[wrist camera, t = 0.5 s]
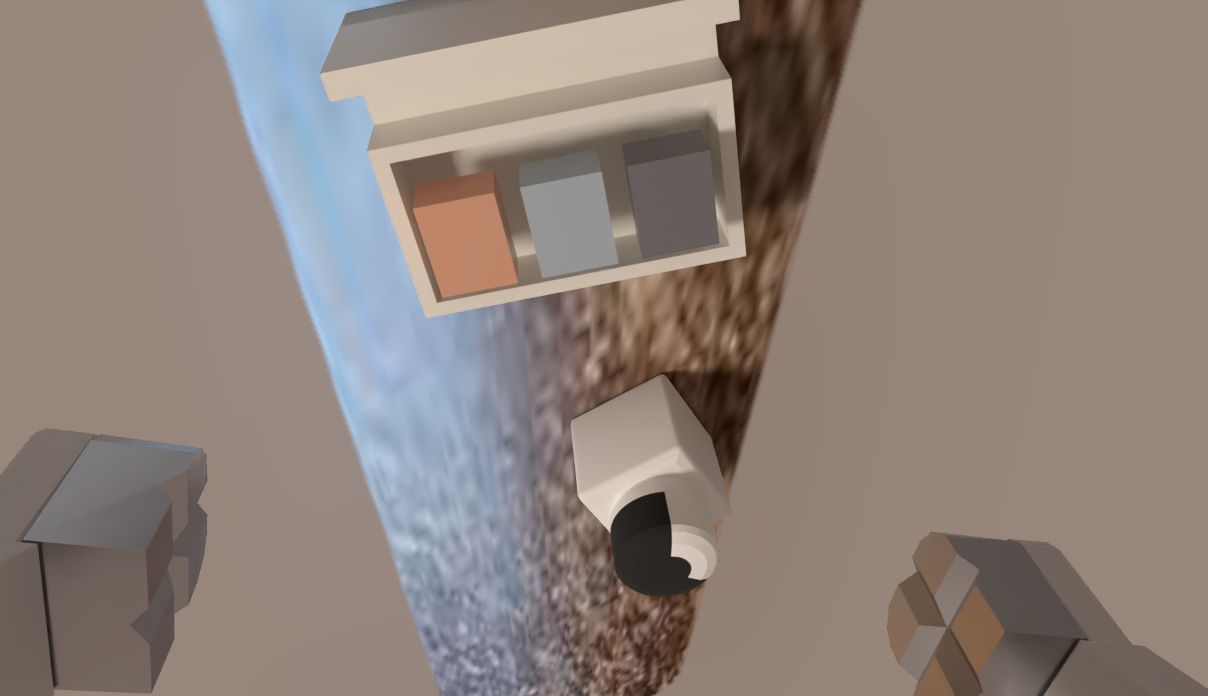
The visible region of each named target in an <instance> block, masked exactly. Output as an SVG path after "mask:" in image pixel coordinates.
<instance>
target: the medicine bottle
mask: <svg viewBox="0 0 1208 696" xmlns="http://www.w3.org/2000/svg"><path fill="white" fill-rule="evenodd" d="M571 430H572V440H573V450H574V460H575V470H576V480H577V490H578V496H579V499H580V500H581V501H582V502H583V503H584V504H585V505H586V507H587V508H588V509H589V510H590V511H591V512H592V513H593V514H594V515H595V516H596V517H597V518H598V520H599V521H600V522H601V523H602V524H603V525H604V526H605V527H606V528H607V529H608V530H609V532H610V534H611V542H612V549H613V557H614V564H615V570H616V573H617V575H618V577H619V579H620V580H621V581H622V582H623V583H624V584H625V585H627V586H628V587H629V588H631V589H633V590H635V591H637V592H639V593H642V594H645V595H650V596H671V595H677V594H681V593H684V592H687V591H689V590H692V589H694V588H696V587H697V586H699V585H700V584H702V583H703V582H704V581H705V580H707V579H708V578H709V576H710V575H711V574H712V573H713V571H714V570H715V568H716V566H717V564H718V562H719V558H720V550H719V546H718V542H717V538H716V534H715V530H714V526H713V523H714V522H716V521H718V520H720V519H723V518H725V517H727V516H729V515H730V514H731V511H732V510H731V506H730V503H729V499H728V496H727V492H726V488H725V485H724V481H723V478H722V474H721V471H720V467H719V464H718V460H717V457H716V453H715V450H714V446H713V442H712V439H711V437H710V436H709V434H708V433H707V431H706V430H705V429H704V427H703V426H702V425H701V423H700V422H699V421H698V419H697V418H696V416H695V415H694V414H693V412H692V411H691V410H690V408H689V407H688V405H687V404H686V403H685V401H684V400H683V399H682V397H681V396H680V394H679V393H678V392H677V390H676V389H675V388H674V386H673V385H672V383H671V382H670V381H669V379H668V378H667V377H666V376H665V375H664V374H660V375H658V376H656V377H654V378H652V379H650V380H648V381H646V382H644V383H642V384H640V385H638V386H636V387H635V388H633V389H631V390H629V391H627V392H625V393H623V394H621V395H619V396H617V397H615V398H613V399H611V400H609V401H607V402H605V403H604V404H602V405H600V406H598V407H596V408H594V409H592V410H590V411H588V412H586V413H584V414H582V415H580V416H578V417H576V418H574V419H573V420H572V422H571Z"/></svg>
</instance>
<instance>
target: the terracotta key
mask: <svg viewBox="0 0 1208 696" xmlns="http://www.w3.org/2000/svg"><path fill="white" fill-rule="evenodd" d="M413 212H414V215H415V218H416V221H417V224H418V227H419V230H420V233H421V236H422V239H423V242H424V245H425V248H426V250H427V253H428V256H429V259H430V262H431V265H432V268H433V271H434V274H435V277H436V280H437V283H438V286H439V289H440V292H441V295H442V298H444V297H449V296H455V295H460V294H465V293H470V292H475V291H480V290H485V289H490V288H495V287H501V286H506V285H511V284H516V283H518V261H517V254H516V251H515V247H514V243H513V239H512V236H511V232H510V228H509V224H508V221H507V217H506V213H505V209H504V206H503V202H502V198H501V194H500V190H499V187H498V183H497V179H496V175H495V172H494V170H490V171H485V172H479V173H474V174H469V175H464V176H459V177H454V178H449V179H444V180H439V181H434V182H429V183H424V184H419V185H416V189H415V196H414V202H413Z"/></svg>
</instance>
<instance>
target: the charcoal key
mask: <svg viewBox="0 0 1208 696" xmlns="http://www.w3.org/2000/svg"><path fill="white" fill-rule="evenodd" d="M622 150H623V156H624V162H625V168H626V174H627V180H628V186H629V192H630V198H631V204H632V210H633V216H634V222H635V227H636V233H637V238H638V242H639V246H640V250H641V254H642V258H643V259H644V258H649V257H654V256H659V255H664V254H669V253H675V252H680V251H685V250H690V249H695V248H700V247H705V246H710V245H716V244H719V234H718V224H717V215H716V205H715V195H714V185H713V176H712V166H711V156H710V149H709V147H708V145H707V143H706V140H705V138H704V136H703V134H702V131H701V129H696V130H691V131H686V132H681V133H676V134H671V135H666V136H661V137H656V138H651V139H646V140H641V141H636V142H631V143H626V144H622Z"/></svg>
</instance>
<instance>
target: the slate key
mask: <svg viewBox="0 0 1208 696" xmlns="http://www.w3.org/2000/svg"><path fill="white" fill-rule="evenodd" d="M519 183H520V191H521V195H522V199H523V203H524V207H525V211H526V215H527V219H528V223H529V227H530V231H531V235H532V239H533V243H534V247H535V251H536V255H537V259H538V263H539V267H540V271H541V275H542V278H547V277H552V276H557V275H562V274H567V273H572V272H577V271H582V270H588V269H593V268H598V267H603V266H608V265H613V264H618V257H617V252H616V246H615V241H614V236H613V230H612V225H611V220H610V214H609V209H608V203H607V198H606V193H605V187H604V182H603V176H602V171H601V166H600V162H599V157H598V152H597V149H595V150H590V151H585V152H580V153H575V154H570V155H565V156H560V157H555V158H550V159H545V160H540V161H535V162H530V163H525V164H520V165H519Z"/></svg>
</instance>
